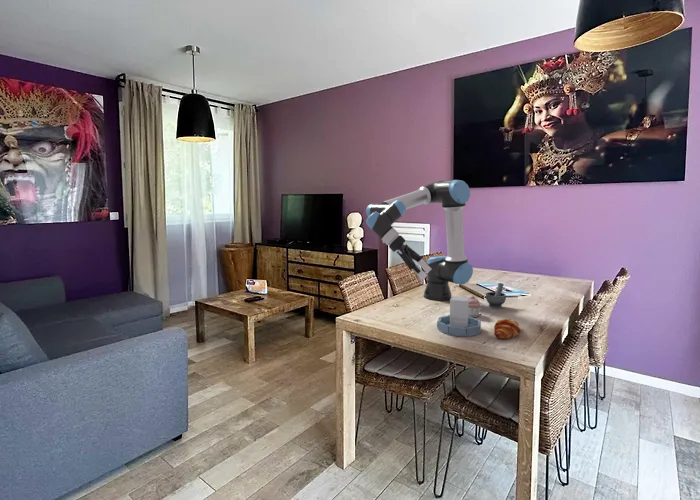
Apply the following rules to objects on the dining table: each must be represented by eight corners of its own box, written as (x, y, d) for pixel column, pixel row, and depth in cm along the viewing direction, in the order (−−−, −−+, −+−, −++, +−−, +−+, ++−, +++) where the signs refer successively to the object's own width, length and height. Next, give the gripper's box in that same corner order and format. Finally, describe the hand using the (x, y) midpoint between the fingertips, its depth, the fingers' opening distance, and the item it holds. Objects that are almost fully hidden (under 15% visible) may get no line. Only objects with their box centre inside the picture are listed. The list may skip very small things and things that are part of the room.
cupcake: (472, 319, 183) (473, 298, 182) (457, 314, 191) (457, 294, 190) (486, 316, 188) (486, 295, 187) (470, 311, 196) (471, 291, 195)
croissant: (508, 333, 175) (501, 316, 176) (530, 327, 168) (522, 309, 170) (490, 347, 159) (482, 327, 160) (514, 340, 152) (505, 320, 154)
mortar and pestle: (499, 311, 197) (500, 287, 195) (481, 307, 203) (482, 284, 202) (509, 306, 204) (511, 283, 202) (492, 303, 211) (493, 281, 209)
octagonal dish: (440, 320, 182) (440, 313, 182) (481, 324, 176) (481, 317, 175) (434, 333, 165) (434, 325, 165) (480, 338, 159) (480, 330, 159)
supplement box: (468, 325, 173) (469, 296, 171) (467, 330, 166) (468, 301, 164) (450, 323, 175) (451, 295, 174) (449, 328, 169) (449, 299, 167)
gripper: (394, 242, 192) (425, 273, 190) (381, 250, 169) (416, 286, 167) (405, 231, 190) (437, 263, 187) (393, 238, 167) (429, 274, 164)
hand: (427, 274), depth 177 cm, fingers open, 13 cm apart
